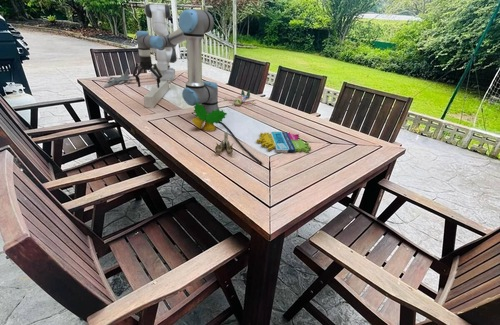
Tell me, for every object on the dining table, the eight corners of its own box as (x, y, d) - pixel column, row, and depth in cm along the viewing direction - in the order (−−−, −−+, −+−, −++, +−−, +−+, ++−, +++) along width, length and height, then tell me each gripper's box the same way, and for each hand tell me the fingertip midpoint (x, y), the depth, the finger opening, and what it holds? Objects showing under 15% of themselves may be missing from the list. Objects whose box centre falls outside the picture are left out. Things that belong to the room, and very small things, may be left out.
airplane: (101, 79, 257) (98, 68, 252) (135, 77, 270) (133, 67, 265) (102, 89, 228) (99, 78, 223) (140, 87, 242) (138, 76, 237)
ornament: (218, 133, 171) (224, 110, 169) (221, 134, 163) (227, 111, 161) (186, 125, 162) (192, 101, 160) (189, 126, 155) (195, 101, 153)
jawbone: (234, 135, 144) (233, 125, 135) (233, 160, 138) (232, 151, 129) (217, 135, 144) (216, 125, 135) (216, 160, 138) (214, 150, 129)
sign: (313, 150, 142) (258, 149, 139) (312, 153, 143) (258, 152, 140) (301, 132, 164) (254, 130, 161) (301, 134, 165) (254, 133, 162)
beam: (153, 108, 192) (151, 96, 188) (145, 107, 192) (143, 96, 188) (169, 88, 244) (168, 79, 240) (163, 88, 243) (162, 79, 239)
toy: (261, 91, 228) (254, 99, 202) (261, 99, 231) (253, 108, 205) (231, 87, 233) (220, 95, 207) (230, 95, 236) (219, 104, 210)
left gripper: (175, 67, 232) (176, 83, 238) (151, 66, 230) (153, 82, 237) (174, 68, 226) (175, 84, 233) (149, 67, 225) (151, 83, 231)
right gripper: (164, 56, 185) (167, 86, 195) (128, 54, 183) (133, 84, 193) (162, 57, 178) (165, 89, 189) (124, 55, 176) (129, 87, 186)
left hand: (164, 83), depth 235 cm, fingers open, 8 cm apart
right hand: (149, 87), depth 191 cm, fingers open, 13 cm apart
